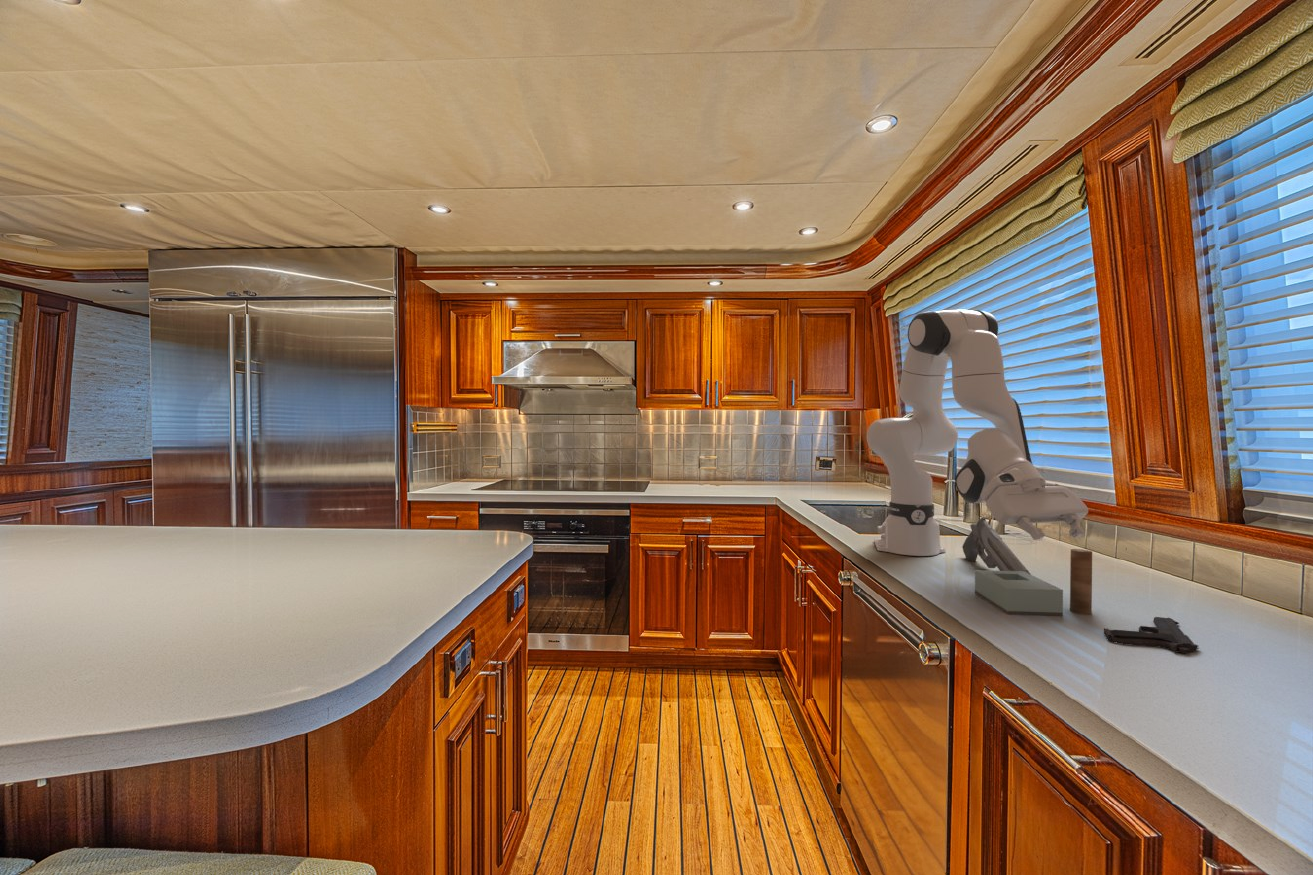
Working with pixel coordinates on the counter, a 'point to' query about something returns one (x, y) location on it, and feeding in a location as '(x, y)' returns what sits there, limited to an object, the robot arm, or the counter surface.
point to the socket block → (1019, 592)
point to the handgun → (1155, 636)
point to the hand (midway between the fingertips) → (1060, 536)
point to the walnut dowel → (1081, 581)
